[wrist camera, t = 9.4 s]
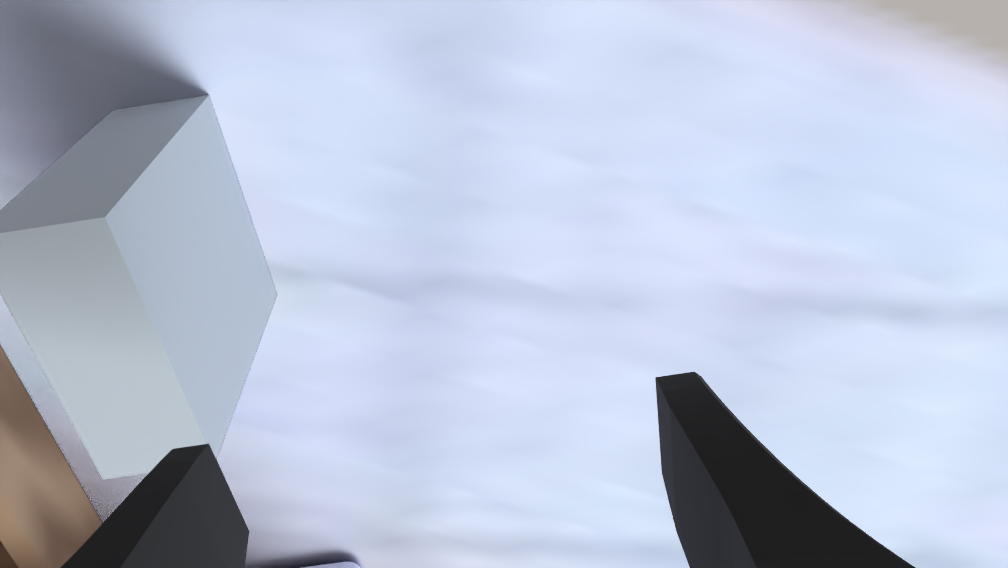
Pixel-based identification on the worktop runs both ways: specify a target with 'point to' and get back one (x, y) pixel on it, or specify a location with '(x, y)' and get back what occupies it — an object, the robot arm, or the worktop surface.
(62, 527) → the frame
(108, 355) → the pale grey rectangular prism
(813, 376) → the worktop surface
